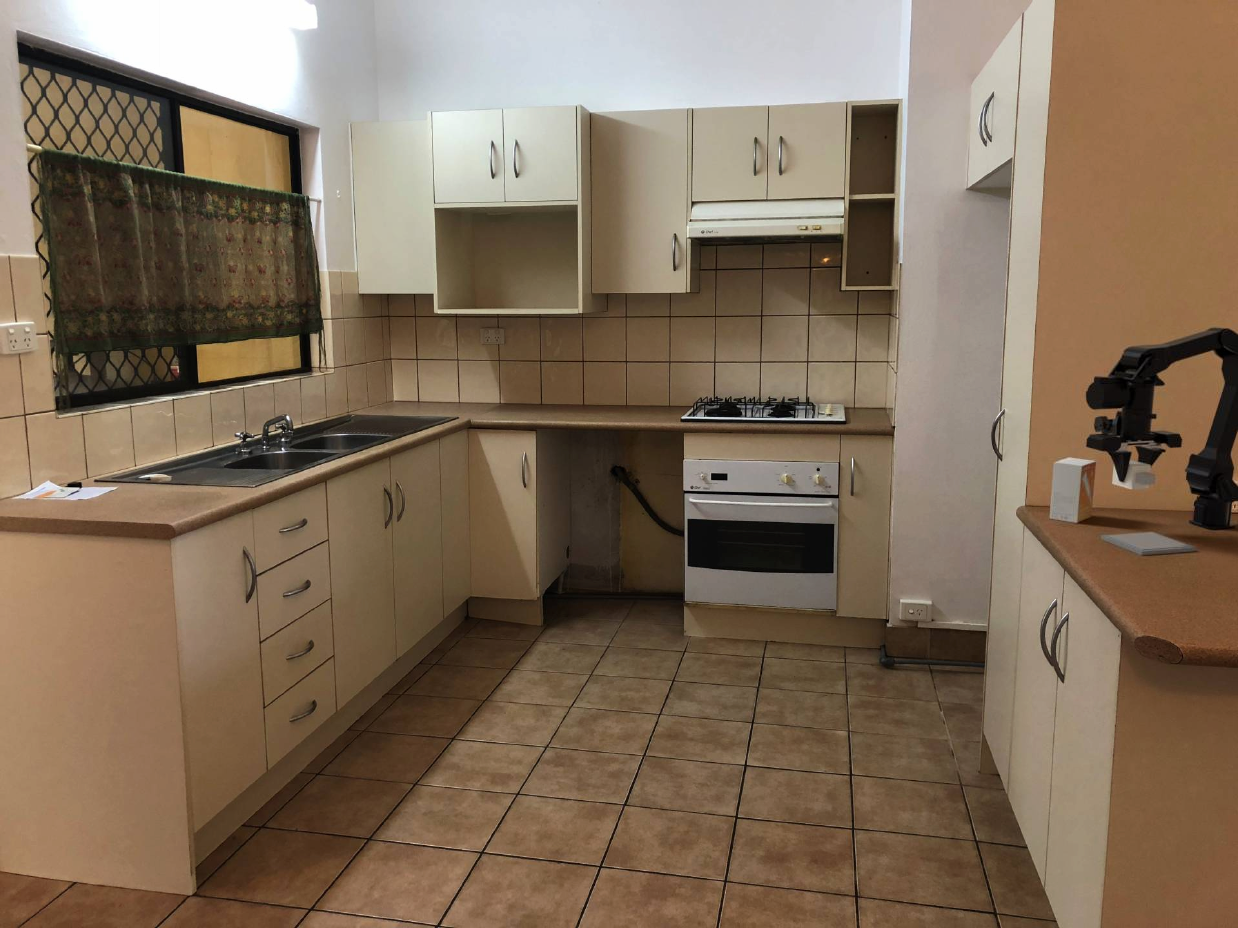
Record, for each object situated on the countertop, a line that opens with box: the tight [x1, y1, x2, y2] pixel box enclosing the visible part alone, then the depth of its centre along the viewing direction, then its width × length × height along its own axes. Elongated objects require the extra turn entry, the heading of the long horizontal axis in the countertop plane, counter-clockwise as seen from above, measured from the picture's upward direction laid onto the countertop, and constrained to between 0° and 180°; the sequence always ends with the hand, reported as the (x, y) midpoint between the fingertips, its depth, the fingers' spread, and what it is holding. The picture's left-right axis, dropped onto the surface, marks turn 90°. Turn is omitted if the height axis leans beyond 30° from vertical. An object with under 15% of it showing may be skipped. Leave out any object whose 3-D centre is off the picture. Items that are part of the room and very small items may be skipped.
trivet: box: [1100, 531, 1196, 556], centre depth 200 cm, size 12×12×1 cm
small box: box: [1049, 456, 1097, 524], centre depth 221 cm, size 8×6×13 cm
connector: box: [1111, 459, 1156, 491], centre depth 207 cm, size 4×8×5 cm, turn 11°
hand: (1130, 481), depth 209 cm, fingers closed on connector, 4 cm apart
